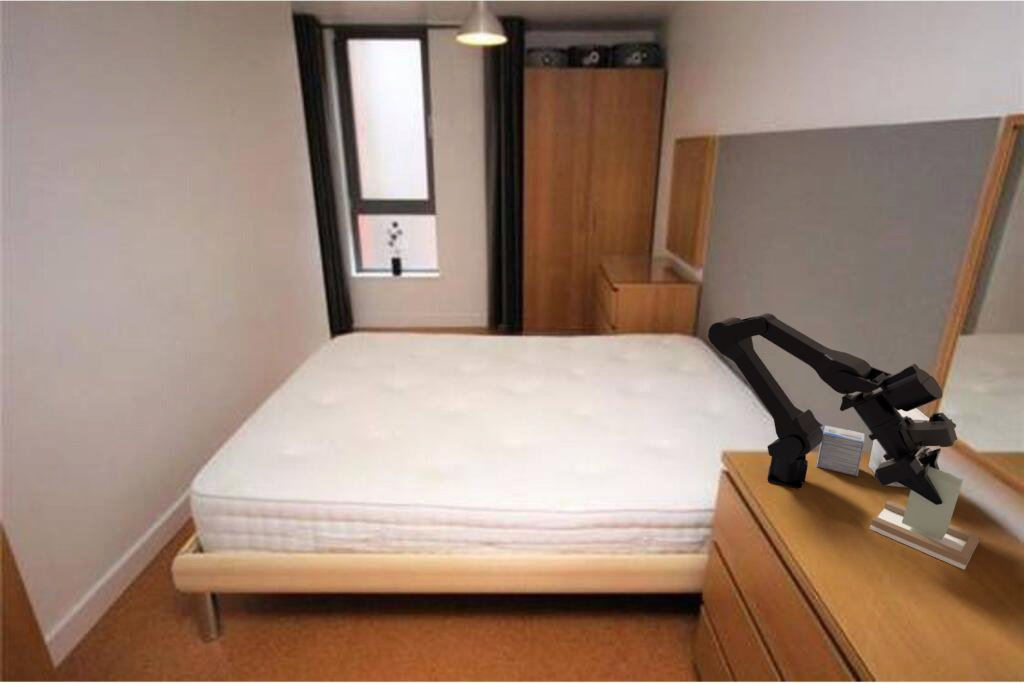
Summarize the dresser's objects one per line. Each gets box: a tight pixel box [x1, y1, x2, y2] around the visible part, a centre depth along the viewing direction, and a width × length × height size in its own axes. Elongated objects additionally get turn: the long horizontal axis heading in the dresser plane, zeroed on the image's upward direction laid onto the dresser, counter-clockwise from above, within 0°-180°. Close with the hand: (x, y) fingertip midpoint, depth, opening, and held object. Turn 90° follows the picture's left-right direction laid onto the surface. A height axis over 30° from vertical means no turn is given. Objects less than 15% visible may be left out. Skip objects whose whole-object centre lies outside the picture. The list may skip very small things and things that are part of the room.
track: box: [869, 500, 981, 571], centre depth 97 cm, size 14×10×2 cm
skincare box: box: [868, 408, 930, 488], centre depth 113 cm, size 8×7×16 cm
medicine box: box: [816, 425, 866, 477], centre depth 118 cm, size 8×4×9 cm, turn 58°
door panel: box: [902, 464, 964, 540], centre depth 95 cm, size 6×4×11 cm, turn 40°
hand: (942, 499), depth 94 cm, fingers closed on door panel, 3 cm apart
